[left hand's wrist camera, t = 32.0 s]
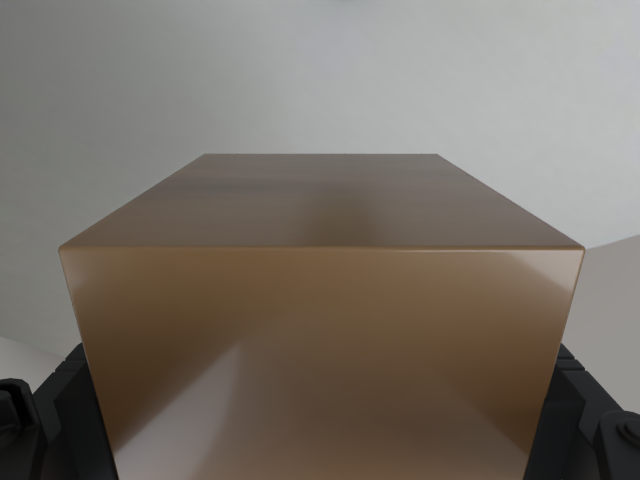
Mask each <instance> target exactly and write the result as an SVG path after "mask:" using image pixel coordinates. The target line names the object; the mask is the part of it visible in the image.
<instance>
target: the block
mask: <svg viewBox="0 0 640 480" xmlns="http://www.w3.org/2000/svg"><path fill="white" fill-rule="evenodd" d="M58 252H59V256H60V259H61V263H62V267H63V271H64V275H65V278H66V282H67V286H68V290H69V294H70V298H71V301H72V305H73V309H74V313H75V317H76V320H77V324H78V328H79V332H80V336H81V339H82V343H83V347H84V351H85V355H86V358H87V362H88V366H89V370H90V374H91V377H92V381H93V385H94V389H95V393H96V396H97V400H98V404H99V408H100V412H101V415H102V419H103V423H104V427H105V431H106V434H107V438H108V442H109V446H110V450H111V453H112V457H113V461H114V465H115V469H116V472H117V476H118V480H524V476H525V472H526V468H527V464H528V461H529V457H530V453H531V449H532V446H533V442H534V438H535V434H536V431H537V427H538V423H539V419H540V416H541V412H542V408H543V404H544V401H545V398H546V396H547V393H548V389H549V385H550V381H551V378H552V374H553V370H554V366H555V363H556V359H557V355H558V352H559V348H560V344H561V340H562V337H563V333H564V329H565V325H566V322H567V318H568V314H569V310H570V307H571V303H572V299H573V296H574V291H575V288H576V284H577V281H578V277H579V273H580V269H581V266H582V262H583V258H584V255H585V247H584V246H582V245H581V244H579V243H578V242H576V241H574V240H573V239H571V238H570V237H568V236H566V235H565V234H563V233H562V232H560V231H558V230H557V229H555V228H554V227H552V226H551V225H549V224H547V223H546V222H544V221H543V220H541V219H539V218H538V217H536V216H535V215H533V214H531V213H530V212H528V211H527V210H525V209H524V208H522V207H520V206H519V205H517V204H516V203H514V202H512V201H511V200H509V199H508V198H506V197H504V196H503V195H501V194H500V193H498V192H497V191H495V190H493V189H492V188H490V187H489V186H487V185H485V184H484V183H482V182H481V181H479V180H477V179H476V178H474V177H473V176H471V175H470V174H468V173H466V172H465V171H463V170H462V169H460V168H458V167H457V166H455V165H454V164H452V163H451V162H449V161H447V160H446V159H444V158H443V157H441V156H439V155H438V154H203V155H202V156H200V157H199V158H197V159H196V160H194V161H192V162H191V163H189V164H188V165H186V166H185V167H183V168H182V169H180V170H178V171H177V172H175V173H174V174H172V175H171V176H169V177H167V178H166V179H164V180H163V181H161V182H160V183H158V184H156V185H155V186H153V187H152V188H150V189H149V190H147V191H146V192H144V193H142V194H141V195H139V196H138V197H136V198H135V199H133V200H131V201H130V202H128V203H127V204H125V205H124V206H122V207H120V208H119V209H117V210H116V211H114V212H113V213H111V214H110V215H108V216H106V217H105V218H103V219H102V220H100V221H99V222H97V223H95V224H94V225H92V226H91V227H89V228H88V229H86V230H85V231H83V232H81V233H80V234H78V235H77V236H75V237H74V238H72V239H70V240H69V241H67V242H66V243H64V244H63V245H61V246H60V247H59V249H58Z"/></svg>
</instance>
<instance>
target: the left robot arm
mask: <svg viewBox="0 0 640 480" xmlns="http://www.w3.org/2000/svg"><path fill="white" fill-rule="evenodd" d="M0 480H118V476H117V472H116V469H115V465H114V461H113V457H112V453H111V450H110V446H109V442H108V438H107V434H106V431H105V427H104V423H103V419H102V415H101V412H100V408H99V404H98V400H97V396H96V393H95V389H94V385H93V381H92V377H91V374H90V370H89V366H88V362H87V358H86V355H85V351H84V347H83V343H80V344H78V345H77V346H76V347H75V349H74V350H73V351H72V352H71V353H70V354H69V355H68V356H67V357H66V360H65V361H63V362H62V363H61V364H60V365H59V366H58V367H57V368H56V369H55V372H53V373H52V374H51V375H50V376H49V377H48V378H47V379H46V380H45V381H44V382H43V384H42V385H41V386H40V387H39V388H38V389H37V390H36V391H35V392H34V393H33V394H32V393H31V390H30V387H29V384H28V383H26V382H25V381H23V380H22V379H13V378H9V379H2V380H0ZM524 480H640V415H639V414H637V413H634V412H630V411H624V410H623V409H622V408H621V407H620V406H619V405H618V404H617V403H616V401H615V400H614V399H613V398H612V397H611V396H610V395H609V394H608V393H607V392H606V391H605V390H604V388H603V387H602V386H601V385H600V384H599V383H598V382H597V381H596V380H595V379H594V378H593V376H592V375H591V374H590V373H589V372H588V371H585V368H584V367H583V366H582V365H581V363H580V362H579V361H578V360H575V358H574V356H573V355H572V354H571V353H570V351H569V350H568V349H567V348H566V347H565V346H564V345H563V344H562V343H561V344H560V348H559V352H558V355H557V359H556V363H555V366H554V370H553V374H552V378H551V381H550V385H549V389H548V393H547V396H546V398H545V401H544V404H543V408H542V412H541V416H540V419H539V423H538V427H537V431H536V434H535V438H534V442H533V446H532V449H531V453H530V457H529V461H528V464H527V468H526V472H525V476H524Z"/></svg>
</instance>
